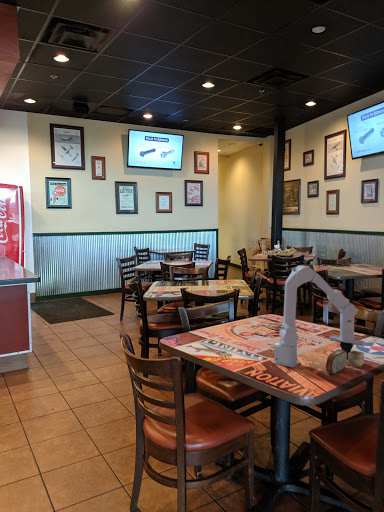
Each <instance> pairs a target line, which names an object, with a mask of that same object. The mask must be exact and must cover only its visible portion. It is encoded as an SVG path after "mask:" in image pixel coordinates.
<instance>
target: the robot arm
mask: <svg viewBox="0 0 384 512" xmlns="http://www.w3.org/2000/svg"><path fill="white" fill-rule="evenodd" d="M308 282H311V283H313V284H316V286H318V287H319V288H320V289H321V290H322V291H323V292H324V293H325V294H326V297H327V298H326V299H327V300H328V301H329V302H330V303H331V304H332V305H334V307H335V308H336V309H337V311H338V312H339V315H340V316H339V317H340V319H339V320H340V321H339V325H340V326H339V332H340V333H339V336H338V335H337V336H336V335H330V336H329V341H330V342H337V343H340V344H339V348H340V349H341V350H344V351H346V352H347V361H348V353H349V352H351V351H352V349H353V347H354V346H360V347H363V348H364V347H365V344H366V341H365V340H360V339H357V338H355V315H356V314H357V312H358V310H357V308H356V306H355V305H354V304H353V303H351V302H350V299H348V298H346V297H345V295H343V292H342V291H341V290H338V289H333V288H332V287H331V286H330V285H329V283H327V281H325V280H324V279H323V277H322V276H321V275H319V273H317V272H316V271H314V269H312V268H311V267H309V266H306V265H304V264H300V265H297V266H295V267H294V268H293V269H292V270H291V273H290V274H289V276H288V277H287V278H286V280H285V283H284V299H283V300H284V301H283V319H282V323H281V327H280V329H279V330H278V331H279V332H278V334H279V338H280V341H277V342H276V343H274V344H275V345H274V347H273V357H274V358H273V364H277V365H281V366H283V367H289V368H294V367H296V366H298V365H299V364H301V360H298V341H299V335H298V333H297V326H296V318H297V317H296V316H297V315H296V313H297V297H298V295H297V294H298V293H297V292H298V288H299V287H300V286H302V285H303V284H305V283H308Z"/></svg>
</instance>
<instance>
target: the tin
mask: <svg viewBox="0 0 384 512" xmlns="http://www.w3.org/2000/svg"><path fill="white" fill-rule="evenodd" d="M347 364H348V360H347V352H346V351H344V350H342V349H341V348H338V349H336V350H334V351H332V352H331V353H329V355H328V356H327V359H326V362H325V370H326V372H327V373H328V374H331V375H336V374H338V373H339V372H341V371H343V370H344V369H345V368H346V365H347Z"/></svg>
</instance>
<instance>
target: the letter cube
mask: <svg viewBox="0 0 384 512" xmlns="http://www.w3.org/2000/svg"><path fill="white" fill-rule="evenodd" d="M347 364H348V365H350V366H354V367H360V368H361V367H362V366H363V365H364V364H365V353H364V352H363V351H359V350H352V349H351V352H349V353H348V360H347Z"/></svg>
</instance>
